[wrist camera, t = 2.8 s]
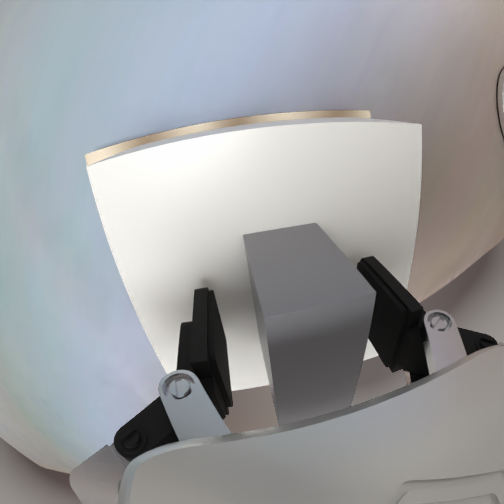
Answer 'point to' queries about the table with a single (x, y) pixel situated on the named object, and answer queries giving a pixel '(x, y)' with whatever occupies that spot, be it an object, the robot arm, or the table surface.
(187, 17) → the table surface
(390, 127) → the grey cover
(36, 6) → the table surface
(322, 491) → the robot arm
